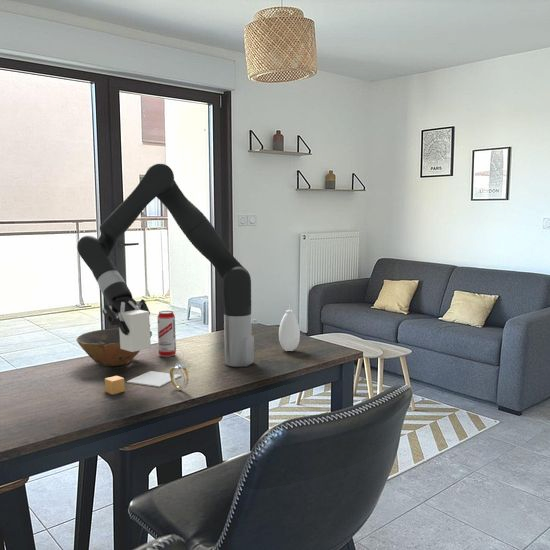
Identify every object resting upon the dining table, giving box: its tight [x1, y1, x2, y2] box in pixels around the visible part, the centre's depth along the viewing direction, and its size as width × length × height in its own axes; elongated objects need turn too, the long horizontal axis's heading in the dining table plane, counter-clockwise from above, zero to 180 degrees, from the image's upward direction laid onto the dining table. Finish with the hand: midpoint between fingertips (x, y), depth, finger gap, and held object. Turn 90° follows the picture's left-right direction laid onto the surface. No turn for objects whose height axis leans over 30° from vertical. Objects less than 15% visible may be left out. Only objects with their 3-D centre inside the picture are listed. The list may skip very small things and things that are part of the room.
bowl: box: [76, 327, 153, 367], centre depth 194 cm, size 25×25×10 cm
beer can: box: [157, 310, 177, 358], centre depth 203 cm, size 6×6×16 cm
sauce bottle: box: [278, 303, 301, 352], centre depth 207 cm, size 8×8×18 cm
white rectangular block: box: [118, 310, 152, 352], centre depth 167 cm, size 6×6×11 cm
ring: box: [169, 362, 189, 391], centre depth 164 cm, size 7×3×8 cm, turn 44°
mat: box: [126, 370, 183, 388], centre depth 175 cm, size 12×12×1 cm
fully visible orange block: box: [104, 375, 126, 396], centre depth 163 cm, size 4×4×4 cm
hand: (138, 331), depth 166 cm, fingers closed on white rectangular block, 6 cm apart
